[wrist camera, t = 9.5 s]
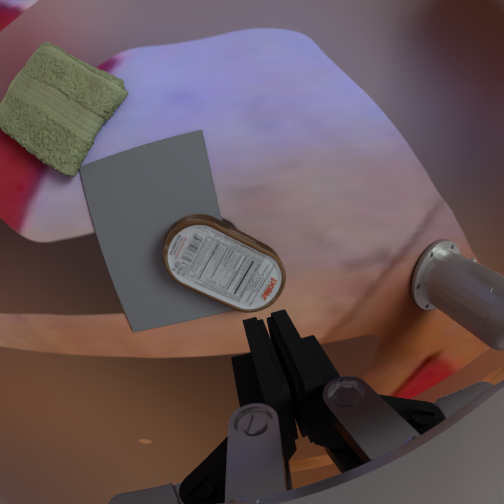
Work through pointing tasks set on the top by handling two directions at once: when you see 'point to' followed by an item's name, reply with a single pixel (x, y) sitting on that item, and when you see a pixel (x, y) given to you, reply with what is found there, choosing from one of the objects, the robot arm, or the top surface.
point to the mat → (150, 224)
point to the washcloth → (59, 107)
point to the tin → (223, 263)
